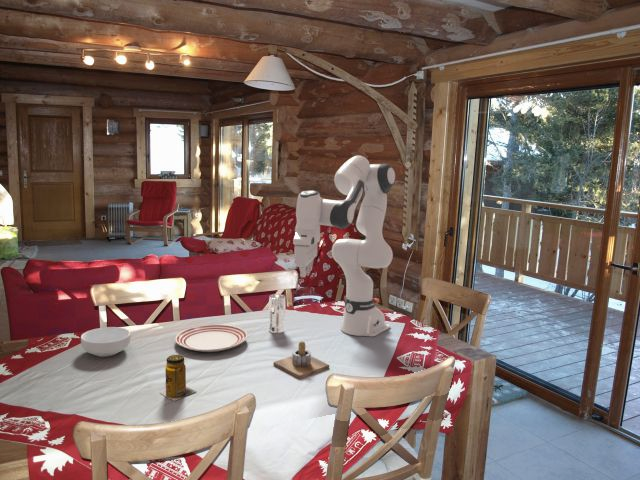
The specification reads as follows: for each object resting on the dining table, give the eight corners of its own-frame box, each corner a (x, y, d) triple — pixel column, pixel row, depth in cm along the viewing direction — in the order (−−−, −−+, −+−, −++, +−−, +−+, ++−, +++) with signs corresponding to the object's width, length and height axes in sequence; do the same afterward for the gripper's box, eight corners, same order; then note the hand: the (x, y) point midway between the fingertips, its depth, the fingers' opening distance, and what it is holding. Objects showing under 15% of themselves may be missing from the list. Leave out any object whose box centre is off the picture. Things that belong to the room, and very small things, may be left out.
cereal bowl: (139, 353, 197) (138, 335, 196) (94, 366, 185) (93, 346, 184) (117, 340, 208) (116, 323, 207) (73, 351, 196) (72, 333, 195)
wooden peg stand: (303, 355, 201) (303, 331, 199) (329, 368, 191) (330, 343, 189) (273, 365, 192) (274, 340, 190) (299, 378, 182) (300, 352, 180)
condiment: (160, 393, 168) (159, 357, 166) (182, 384, 174) (182, 349, 172) (173, 401, 163) (173, 364, 161) (196, 392, 170) (196, 356, 167)
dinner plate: (160, 349, 202) (160, 340, 202) (202, 326, 227) (202, 319, 227) (223, 363, 192) (223, 354, 192) (259, 337, 217) (260, 330, 217)
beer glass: (282, 334, 221) (283, 299, 218) (266, 332, 222) (266, 297, 219) (286, 329, 228) (287, 294, 225) (270, 327, 229) (271, 293, 226)
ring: (302, 358, 196) (302, 347, 195) (314, 364, 191) (314, 353, 190) (288, 362, 191) (288, 352, 191) (300, 368, 187) (300, 358, 186)
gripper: (305, 231, 205) (304, 266, 207) (291, 240, 185) (290, 279, 187) (322, 232, 203) (320, 267, 206) (309, 242, 184) (308, 281, 186)
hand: (306, 273), depth 196 cm, fingers open, 8 cm apart
